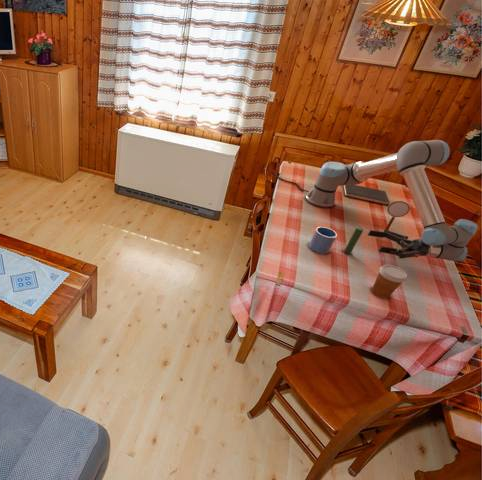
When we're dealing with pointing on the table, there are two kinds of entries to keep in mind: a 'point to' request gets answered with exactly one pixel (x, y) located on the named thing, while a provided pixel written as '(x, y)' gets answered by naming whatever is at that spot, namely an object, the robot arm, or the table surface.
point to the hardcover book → (366, 194)
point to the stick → (353, 240)
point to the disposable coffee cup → (388, 280)
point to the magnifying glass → (397, 210)
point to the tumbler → (322, 240)
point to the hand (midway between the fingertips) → (374, 240)
